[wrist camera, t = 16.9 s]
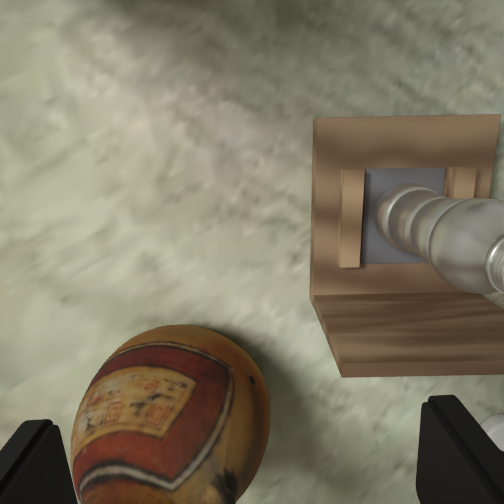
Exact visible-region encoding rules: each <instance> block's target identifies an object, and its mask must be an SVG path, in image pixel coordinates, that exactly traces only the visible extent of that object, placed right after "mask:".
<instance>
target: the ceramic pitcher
mask: <svg viewBox="0 0 504 504" xmlns="http://www.w3.org/2000/svg"><path fill="white" fill-rule="evenodd" d="M269 428H270V399H269V393H268V389H267V386H266V384H265V381H264V378H263V376H262V374H261V372H260V370H259V368H258V366H257V365H256V364H255V362H254V361H253V360H252V359H251V357H250V356H249V355H248V354H247V353H246V352H245V351H244V350H243V349H241V348H240V347H239V346H238V345H236V344H235V343H234V342H232V341H231V340H229V338H227V337H225V336H223V335H221V334H219V333H216V332H214V331H212V330H209V329H206V328H203V327H198V326H193V325H167V326H162V327H158V328H155V329H152V330H149V331H145V332H143V333H141V334H139V335H137V336H135V337H133V338H131V339H130V340H129V341H127V342H126V343H124V344H123V345H122V346H121V347H119V348H118V349H117V350H116V351H115V352H114V353H113V354H112V355H111V356H110V357H109V358H108V359H107V360H106V362H105V363H104V364H103V366H102V367H101V368H100V370H99V371H98V373H97V374H96V375H95V377H94V378H93V380H92V381H91V383H90V385H89V387H88V389H87V391H86V393H85V395H84V397H83V399H82V401H81V403H80V406H79V409H78V412H77V414H76V417H75V422H74V426H73V431H72V436H71V468H72V476H73V481H74V485H75V490H76V493H77V496H78V499H79V501H80V502H81V504H236V501H237V500H238V499H239V498H240V497H241V496H242V495H243V494H244V492H245V491H246V489H247V488H248V486H249V485H250V483H251V482H252V480H253V478H254V477H255V475H256V473H257V470H258V468H259V465H260V463H261V460H262V457H263V455H264V452H265V449H266V445H267V441H268V436H269Z"/></svg>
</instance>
